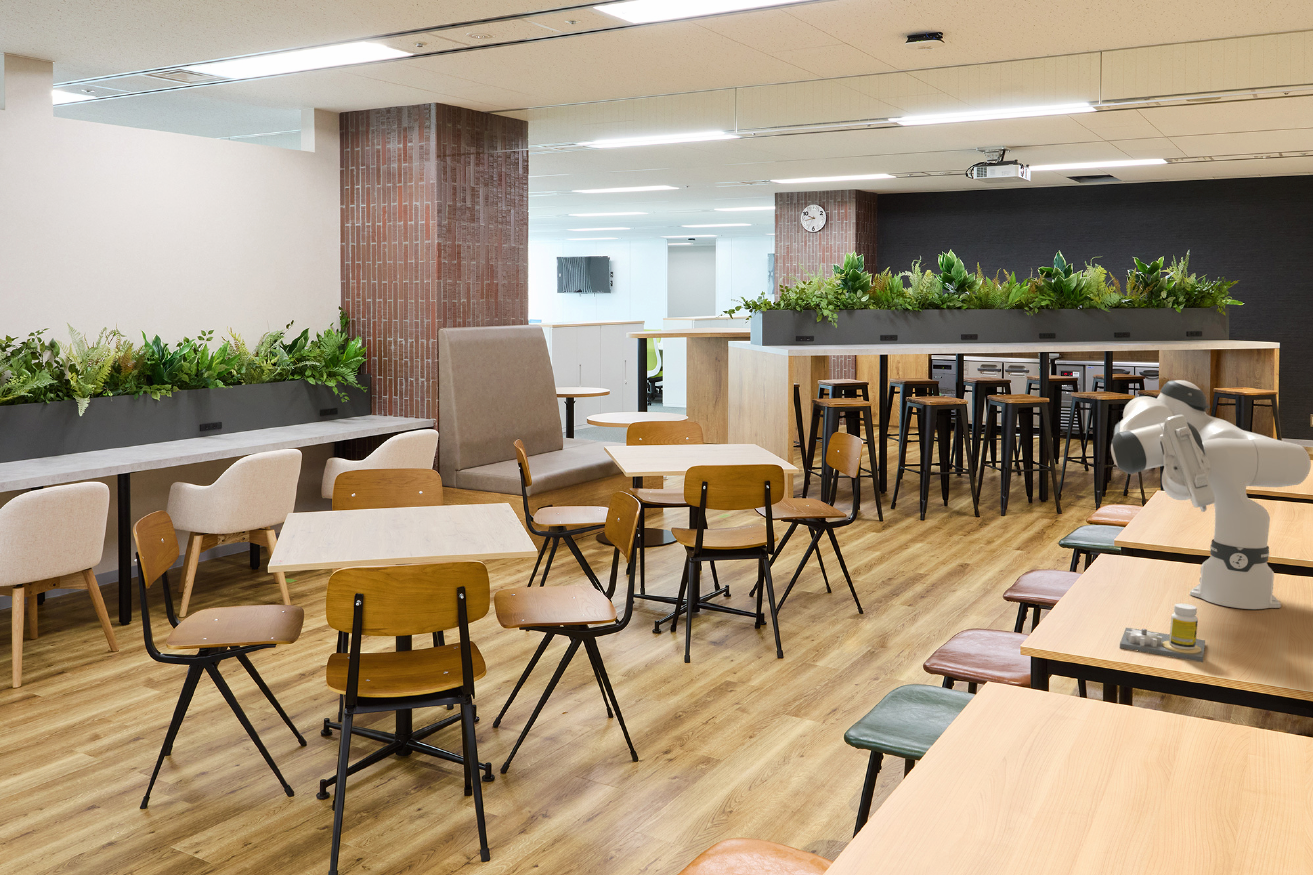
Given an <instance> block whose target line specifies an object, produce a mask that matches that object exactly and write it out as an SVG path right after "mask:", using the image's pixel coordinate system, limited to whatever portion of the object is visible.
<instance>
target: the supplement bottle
mask: <svg viewBox="0 0 1313 875" xmlns="http://www.w3.org/2000/svg"><path fill="white" fill-rule="evenodd" d="M1173 608H1174V609H1173V613H1172V614H1171V618H1170V630H1169V635H1170V638H1169V644H1170V645H1171V646H1172V647H1175V648H1178V649H1184V650H1192V649H1194V648H1195V645H1196V639H1197V631H1198V623H1199V620H1198V617H1197V613H1198V607H1197V606H1195V605H1193V604H1188V603H1181V602H1180V603H1175V604H1174V607H1173Z"/></svg>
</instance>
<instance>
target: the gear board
mask: <svg viewBox="0 0 1313 875" xmlns="http://www.w3.org/2000/svg"><path fill="white" fill-rule="evenodd" d="M1169 638H1170V633H1169V634H1168V633H1162V632H1156V631H1150V630H1148V629H1145V628H1141V629H1137V628H1132V627H1125V630H1124V631H1123V634H1122V637H1121V640H1120V642H1119V649H1123V648H1125V649H1124V650H1128V649H1130V651H1134V650H1138V651H1137V652H1140V651H1141V653H1146V652H1149V653H1148V654H1152V655H1158V656H1163V657H1169V656H1170V657H1171V658H1176V659H1181V658H1182V660H1186V661H1187V660H1189V661H1194V662H1199V663H1203V662H1204V655H1205V654H1204V653H1205V646H1206V639H1200V638H1196V645H1195V648H1194V649H1192V650H1184V649H1178V648H1175V647H1172V646H1171V645H1170V644H1169Z"/></svg>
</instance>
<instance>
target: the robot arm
mask: <svg viewBox="0 0 1313 875" xmlns="http://www.w3.org/2000/svg"><path fill="white" fill-rule="evenodd" d="M1159 392H1160V393H1159V395H1158V396H1157V398H1155V397H1152V396H1145V395H1143V396H1137V397H1134V398H1133V399H1131V400H1130V401H1128V403H1127V404H1125V406H1124V409H1123V413H1122V417H1123V418H1122V419H1121V420H1120V421H1118V422H1117V423H1116V424H1115V425H1114V428H1113V437H1112V439H1111V444H1110V452H1111V457H1112V460H1113V463H1114V464H1115V466H1116V467H1117V468H1118V469H1119V470H1120V471H1122V472H1124V473H1126V474H1129V475H1133V474H1136V473H1137V474H1138V473H1140V472H1142V471H1144V470H1149V469H1154V468H1159V467H1163V466H1164V468H1163V471H1162V473H1161V485H1162V488H1163V491H1164V493H1166V495H1167V496H1168V497H1170V498H1171V499H1174V500H1178V501H1188V500H1190V502H1191V503H1192V505H1193V507H1194V508H1197V509H1198V508H1200V511H1201V512H1202V513H1204V512H1206V511H1207V509H1208V508H1207V506H1210V505H1212V504H1213V506H1214V531H1213V532H1214V535H1213V539H1211V543H1210V550H1209V551H1210V552H1209V554H1210V557H1209V558H1208V559H1206V560H1205V561H1203V562H1202V564H1201V567H1200V577H1199V583H1198V584H1197V585H1196V586H1195V587H1192V589H1190V591H1189V595H1190V596H1193V597H1196V598H1200V599H1202V600H1204V601H1207V602H1209V603H1212V604H1216V605H1219V606H1224V607H1230V608H1236V609H1245V610H1263V609H1269V608H1271V609H1274V608H1275V609H1278V608H1279V609H1280V608H1281V606H1282V604H1281V602H1280V600H1278V599H1277V598H1276V596H1275V595H1274V594H1273V593H1274V592H1273V591H1274V580H1275V579H1274V578H1275V572H1274V571H1273V569H1272V568H1271V567H1270V566H1269V565H1268V561H1269V556H1270V547H1269V545H1268V542H1269V531H1270V522H1271V516H1270V513H1269V512H1268V510H1267V509H1266V508H1265V507H1264V506H1263V505H1261V504H1259V502H1256V501H1255V500H1252V499H1250V498H1249V497H1248V495H1247V487H1259V488H1262V487H1263V488H1283V487H1285V488H1286V487H1290V486H1291V487H1292V486H1297V485H1300V484H1302V483H1303V482H1304V481H1305V480H1306V479H1307V478H1308V476H1309V474H1310V471H1311V466H1312V464H1311V456H1310V455H1309V453H1308V451H1307V450H1306V449H1305V447H1304V446H1303V445H1301V444H1299V443H1298V444H1297V443H1293V442H1289V441H1285V440H1280V439H1276V438H1272V437H1268V436H1267V435H1263V434H1259V433H1256V432H1251V431H1248V430H1243V429H1241V428H1240V427H1238V426H1236V425H1234V424H1233V423H1231V422H1230V421H1227V420H1224V419H1223V418H1222V419H1221V418H1218V417H1214V416H1211V415H1208V414H1207V413H1206V412H1207V409H1208V410H1209V409H1210V408H1211V406H1210V405H1209V404H1208V403H1207V397H1206V395H1205V393H1204V392H1203V389H1200V388H1199V386H1197V385H1196V384H1194V383H1192V382H1190V381H1189V380H1184V379H1176V380H1175V379H1172V380H1168V381H1166V383H1164V385H1163V386H1162V387H1161V389H1160V390H1159Z"/></svg>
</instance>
